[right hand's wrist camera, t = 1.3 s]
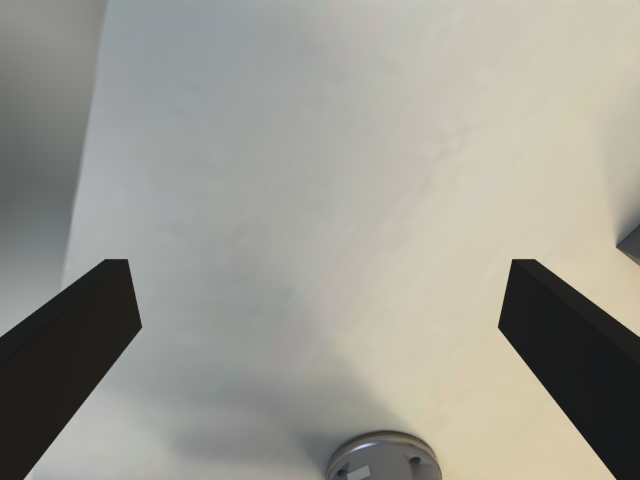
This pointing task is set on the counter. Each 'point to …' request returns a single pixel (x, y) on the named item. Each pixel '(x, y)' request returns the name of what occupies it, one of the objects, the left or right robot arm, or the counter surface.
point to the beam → (631, 245)
